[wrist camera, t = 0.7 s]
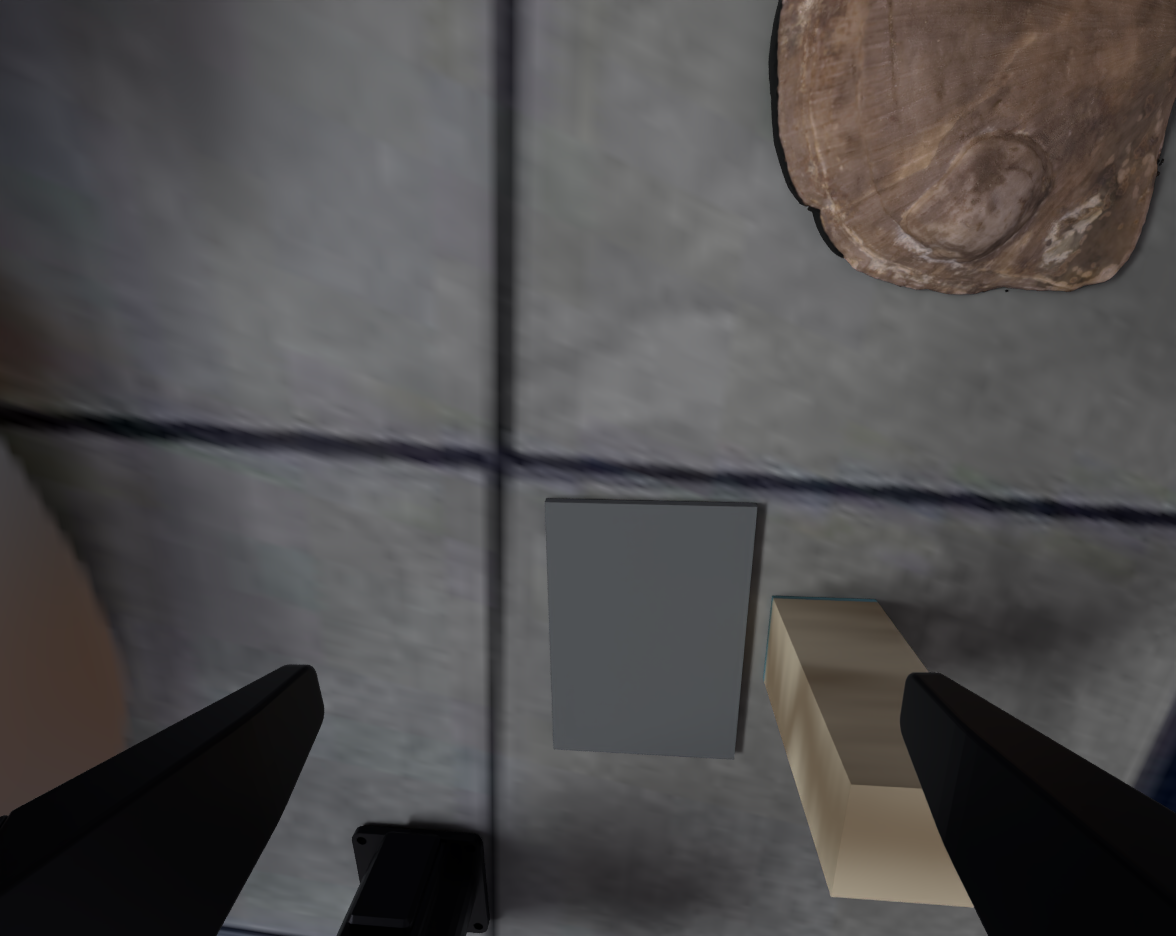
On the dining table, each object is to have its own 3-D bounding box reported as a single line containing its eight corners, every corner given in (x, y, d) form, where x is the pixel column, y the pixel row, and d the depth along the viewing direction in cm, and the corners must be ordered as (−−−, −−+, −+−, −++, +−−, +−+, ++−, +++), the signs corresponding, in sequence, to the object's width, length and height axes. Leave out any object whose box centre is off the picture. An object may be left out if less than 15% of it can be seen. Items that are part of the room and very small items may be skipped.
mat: (732, 752, 26) (733, 759, 25) (554, 742, 26) (553, 749, 26) (755, 503, 22) (757, 506, 21) (546, 498, 22) (544, 502, 22)
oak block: (860, 682, 24) (984, 908, 15) (763, 678, 24) (831, 896, 16) (875, 599, 23) (1018, 794, 14) (772, 595, 23) (850, 784, 14)
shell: (748, 298, 20) (770, 304, 16) (782, -182, 16) (821, -306, 12) (1105, 294, 19) (1207, 298, 15) (1239, -220, 15) (1418, -366, 11)
